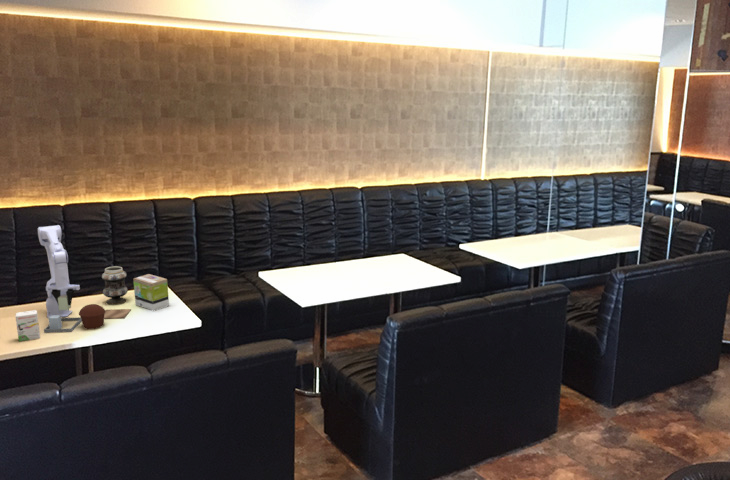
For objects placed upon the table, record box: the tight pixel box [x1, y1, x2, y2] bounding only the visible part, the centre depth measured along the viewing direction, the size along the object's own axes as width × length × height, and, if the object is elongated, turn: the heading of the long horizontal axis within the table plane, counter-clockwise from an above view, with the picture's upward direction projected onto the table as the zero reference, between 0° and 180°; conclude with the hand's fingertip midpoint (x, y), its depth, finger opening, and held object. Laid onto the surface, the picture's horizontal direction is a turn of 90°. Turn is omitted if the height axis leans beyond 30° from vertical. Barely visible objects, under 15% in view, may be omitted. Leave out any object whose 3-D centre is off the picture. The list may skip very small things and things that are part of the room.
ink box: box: [15, 309, 41, 342], centre depth 281 cm, size 8×5×12 cm, turn 119°
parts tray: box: [43, 316, 82, 334], centre depth 296 cm, size 12×15×2 cm
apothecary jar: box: [101, 265, 129, 306], centre depth 329 cm, size 12×12×18 cm
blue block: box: [47, 315, 63, 329], centre depth 292 cm, size 4×4×6 cm
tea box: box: [132, 273, 170, 312], centre depth 323 cm, size 15×10×15 cm, turn 55°
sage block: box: [58, 295, 72, 311], centre depth 297 cm, size 4×4×6 cm
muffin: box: [78, 303, 106, 330], centre depth 296 cm, size 12×11×10 cm
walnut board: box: [104, 308, 132, 320], centre depth 312 cm, size 12×12×1 cm
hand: (64, 304), depth 298 cm, fingers closed on sage block, 4 cm apart
